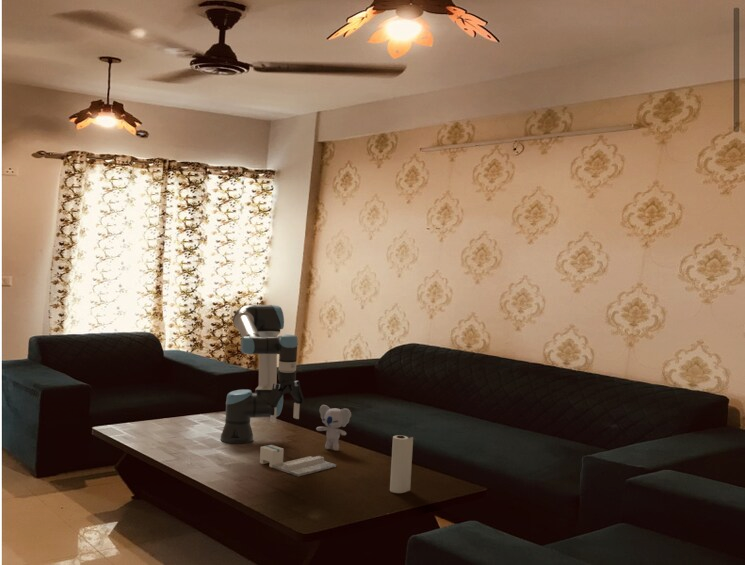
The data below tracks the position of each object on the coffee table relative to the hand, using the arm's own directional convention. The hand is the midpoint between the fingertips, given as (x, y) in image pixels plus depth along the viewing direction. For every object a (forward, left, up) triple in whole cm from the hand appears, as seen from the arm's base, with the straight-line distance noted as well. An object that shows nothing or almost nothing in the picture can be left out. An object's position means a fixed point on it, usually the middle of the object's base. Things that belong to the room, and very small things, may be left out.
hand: (284, 420), depth 309 cm
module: (-2, -5, -18) cm, 19 cm away
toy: (-2, +32, -19) cm, 37 cm away
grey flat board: (+10, +3, -18) cm, 21 cm away
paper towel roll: (+56, +10, -19) cm, 60 cm away
